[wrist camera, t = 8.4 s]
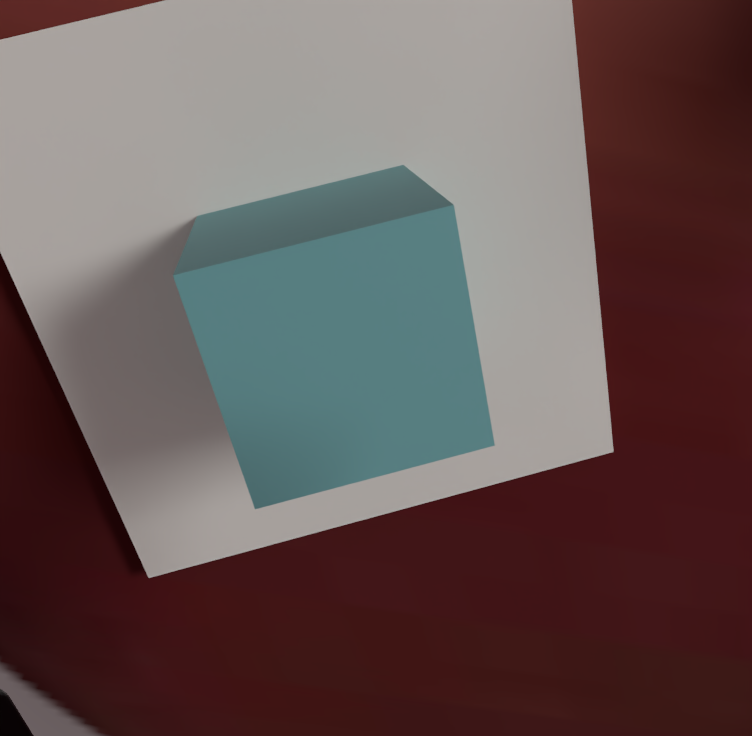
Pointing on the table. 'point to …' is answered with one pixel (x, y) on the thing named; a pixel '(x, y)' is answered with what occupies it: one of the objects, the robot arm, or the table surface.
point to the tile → (281, 176)
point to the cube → (337, 332)
